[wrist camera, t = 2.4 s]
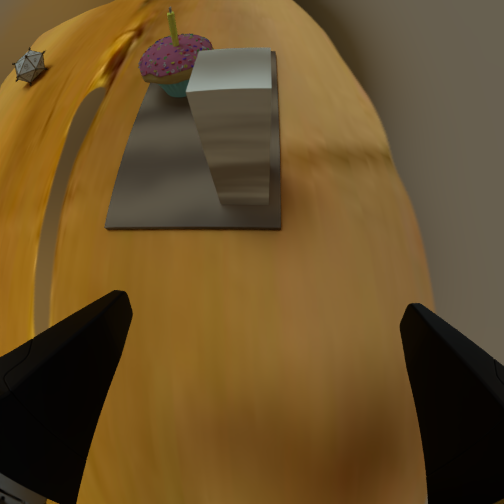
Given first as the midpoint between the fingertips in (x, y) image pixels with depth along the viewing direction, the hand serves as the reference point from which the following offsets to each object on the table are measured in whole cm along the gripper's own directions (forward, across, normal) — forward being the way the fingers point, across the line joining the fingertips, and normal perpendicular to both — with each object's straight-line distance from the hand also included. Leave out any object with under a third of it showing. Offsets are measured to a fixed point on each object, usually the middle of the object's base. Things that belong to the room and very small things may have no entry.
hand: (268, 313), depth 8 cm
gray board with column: (+24, +7, -5) cm, 25 cm away
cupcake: (+27, +11, -9) cm, 31 cm away
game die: (+40, +51, -21) cm, 68 cm away
